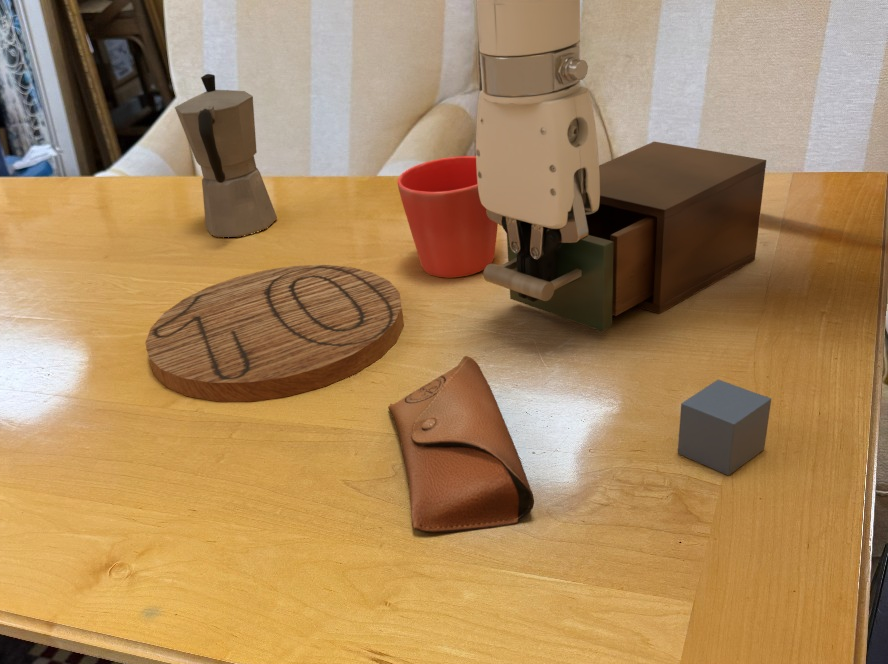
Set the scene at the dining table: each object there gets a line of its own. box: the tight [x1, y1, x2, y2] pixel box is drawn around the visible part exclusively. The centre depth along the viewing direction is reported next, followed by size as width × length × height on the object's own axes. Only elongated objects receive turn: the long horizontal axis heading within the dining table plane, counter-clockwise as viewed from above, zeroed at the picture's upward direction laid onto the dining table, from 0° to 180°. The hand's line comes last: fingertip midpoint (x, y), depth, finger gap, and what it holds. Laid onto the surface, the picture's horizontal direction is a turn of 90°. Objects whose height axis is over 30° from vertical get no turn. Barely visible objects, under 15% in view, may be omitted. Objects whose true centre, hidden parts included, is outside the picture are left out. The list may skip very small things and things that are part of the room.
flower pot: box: [397, 155, 499, 279], centre depth 95 cm, size 11×11×10 cm
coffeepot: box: [174, 73, 278, 239], centre depth 110 cm, size 15×9×18 cm, turn 1°
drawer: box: [482, 204, 658, 332], centre depth 82 cm, size 19×11×8 cm, turn 129°
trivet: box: [144, 264, 405, 403], centre depth 88 cm, size 25×25×2 cm
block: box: [677, 379, 772, 476], centre depth 63 cm, size 4×4×4 cm
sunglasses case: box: [387, 355, 535, 534], centre depth 67 cm, size 18×7×7 cm, turn 7°
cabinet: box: [599, 141, 767, 315], centre depth 87 cm, size 15×13×10 cm
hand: (537, 293), depth 80 cm, fingers closed
